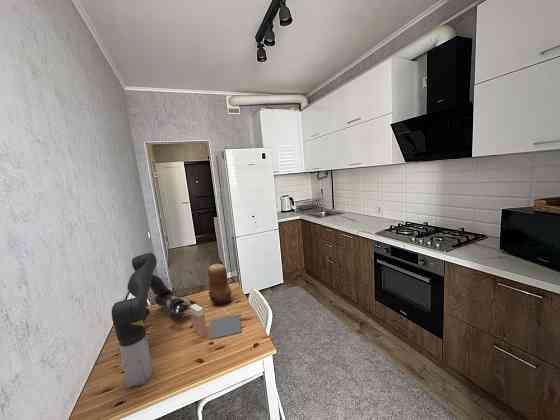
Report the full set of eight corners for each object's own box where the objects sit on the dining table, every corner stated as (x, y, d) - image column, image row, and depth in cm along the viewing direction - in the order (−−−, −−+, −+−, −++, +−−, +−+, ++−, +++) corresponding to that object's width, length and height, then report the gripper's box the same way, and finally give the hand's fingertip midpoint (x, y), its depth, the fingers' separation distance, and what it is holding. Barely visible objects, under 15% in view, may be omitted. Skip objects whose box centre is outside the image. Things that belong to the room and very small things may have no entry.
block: (198, 328, 121) (195, 303, 119) (206, 333, 116) (203, 308, 114) (193, 331, 119) (189, 306, 117) (201, 337, 114) (197, 311, 112)
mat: (241, 332, 114) (241, 331, 114) (208, 340, 111) (208, 339, 111) (240, 315, 130) (239, 314, 129) (211, 321, 126) (211, 320, 126)
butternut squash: (232, 295, 153) (228, 260, 150) (231, 305, 140) (226, 267, 137) (211, 298, 151) (206, 263, 148) (208, 309, 138) (203, 270, 135)
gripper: (162, 303, 127) (174, 313, 117) (186, 293, 138) (200, 300, 127) (164, 316, 128) (177, 326, 118) (188, 304, 139) (201, 312, 128)
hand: (189, 312), depth 122 cm, fingers open, 8 cm apart
